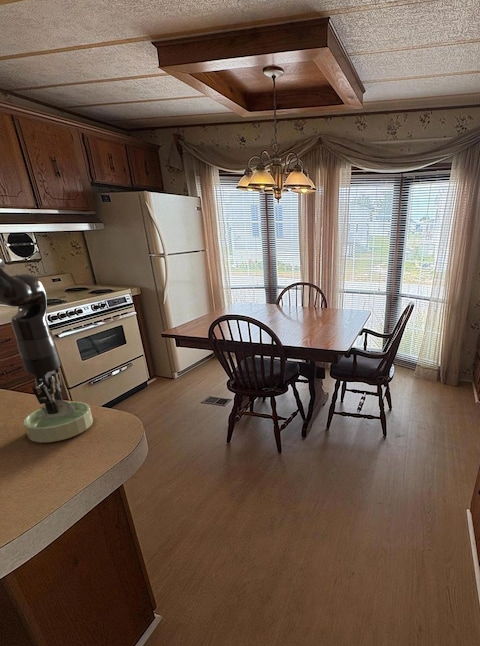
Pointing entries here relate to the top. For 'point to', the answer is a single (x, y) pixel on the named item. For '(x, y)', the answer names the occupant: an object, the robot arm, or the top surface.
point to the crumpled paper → (62, 407)
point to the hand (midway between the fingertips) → (56, 408)
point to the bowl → (58, 424)
